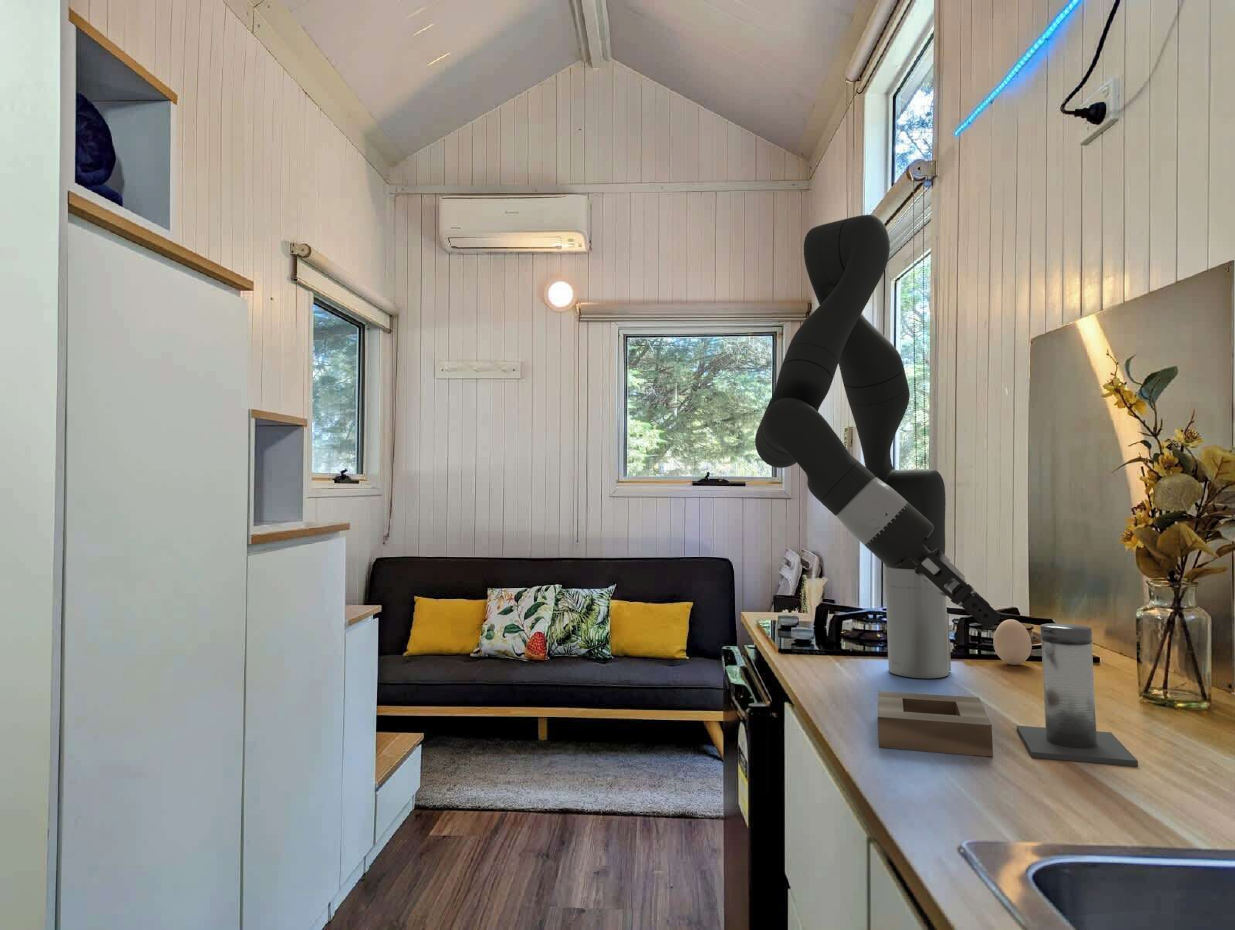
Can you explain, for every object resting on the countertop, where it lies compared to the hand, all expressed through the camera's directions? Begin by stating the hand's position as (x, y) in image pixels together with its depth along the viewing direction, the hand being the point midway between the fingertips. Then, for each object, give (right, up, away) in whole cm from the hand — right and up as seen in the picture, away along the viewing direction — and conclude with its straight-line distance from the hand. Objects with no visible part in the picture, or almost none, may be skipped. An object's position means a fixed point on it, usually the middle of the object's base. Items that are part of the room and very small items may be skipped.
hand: (989, 617), depth 89 cm
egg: (+23, -16, +38) cm, 47 cm away
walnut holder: (-6, -15, +2) cm, 16 cm away
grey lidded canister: (+8, -14, -3) cm, 16 cm away
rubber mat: (+8, -14, -3) cm, 17 cm away
